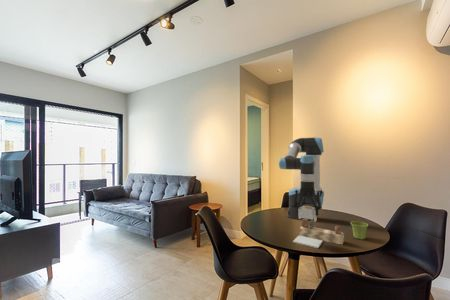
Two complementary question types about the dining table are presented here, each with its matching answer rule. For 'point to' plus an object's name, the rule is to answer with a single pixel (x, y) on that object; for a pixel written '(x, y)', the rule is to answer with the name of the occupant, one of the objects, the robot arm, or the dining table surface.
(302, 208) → the lever cap
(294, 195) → the robot arm
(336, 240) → the hand plane
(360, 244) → the dining table surface
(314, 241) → the rubber mat
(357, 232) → the plant pot
